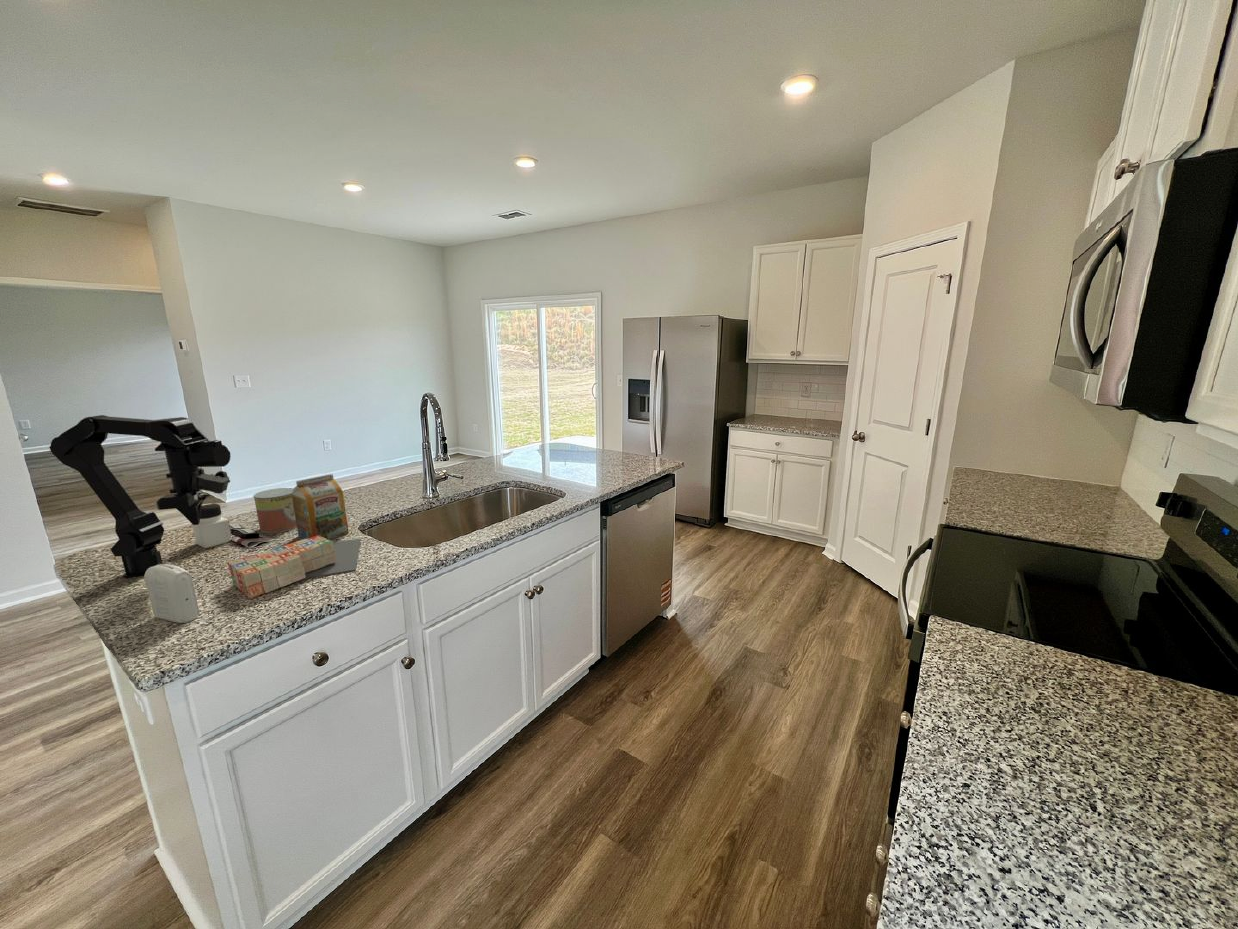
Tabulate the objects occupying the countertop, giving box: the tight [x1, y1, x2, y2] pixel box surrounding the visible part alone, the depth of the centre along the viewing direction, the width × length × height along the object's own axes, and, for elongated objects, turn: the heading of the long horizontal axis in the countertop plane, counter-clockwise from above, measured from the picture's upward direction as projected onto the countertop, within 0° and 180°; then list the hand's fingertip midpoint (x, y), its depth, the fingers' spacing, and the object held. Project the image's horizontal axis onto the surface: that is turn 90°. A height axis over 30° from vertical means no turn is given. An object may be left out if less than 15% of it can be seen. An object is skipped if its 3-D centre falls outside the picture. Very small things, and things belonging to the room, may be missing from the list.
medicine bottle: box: [191, 503, 233, 549], centre depth 150 cm, size 7×7×12 cm
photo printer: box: [143, 563, 200, 624], centre depth 108 cm, size 10×4×12 cm, turn 72°
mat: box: [300, 538, 361, 581], centre depth 139 cm, size 16×24×1 cm, turn 24°
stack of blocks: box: [227, 535, 337, 599], centre depth 128 cm, size 21×6×12 cm
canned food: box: [253, 487, 297, 534], centre depth 163 cm, size 11×11×12 cm
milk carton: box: [291, 473, 350, 540], centre depth 155 cm, size 11×11×19 cm
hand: (196, 524), depth 130 cm, fingers closed
